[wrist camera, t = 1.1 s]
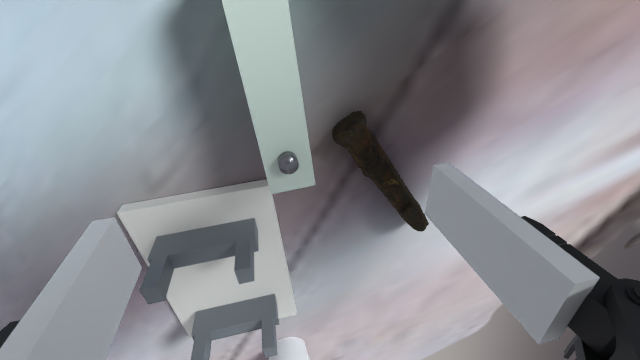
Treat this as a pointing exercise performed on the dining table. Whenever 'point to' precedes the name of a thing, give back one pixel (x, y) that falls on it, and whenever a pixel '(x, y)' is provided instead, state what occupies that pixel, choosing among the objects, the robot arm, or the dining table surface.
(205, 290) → the clip rack
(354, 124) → the hand tool
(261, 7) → the tapered bar with knob
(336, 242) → the dining table surface
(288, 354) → the foam cup
